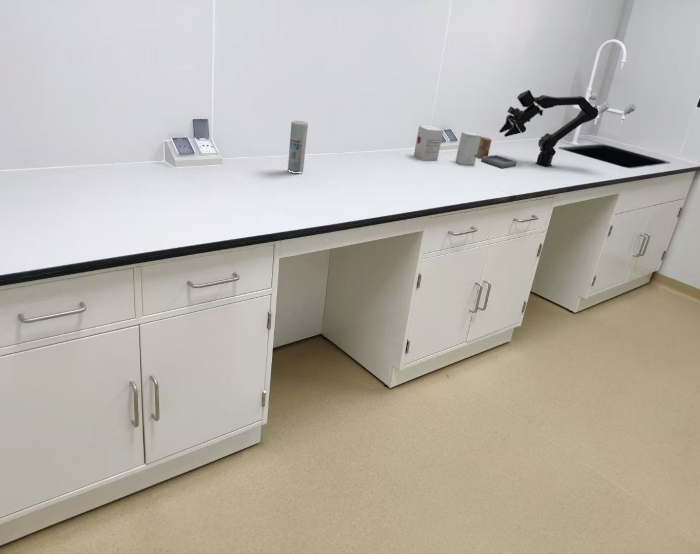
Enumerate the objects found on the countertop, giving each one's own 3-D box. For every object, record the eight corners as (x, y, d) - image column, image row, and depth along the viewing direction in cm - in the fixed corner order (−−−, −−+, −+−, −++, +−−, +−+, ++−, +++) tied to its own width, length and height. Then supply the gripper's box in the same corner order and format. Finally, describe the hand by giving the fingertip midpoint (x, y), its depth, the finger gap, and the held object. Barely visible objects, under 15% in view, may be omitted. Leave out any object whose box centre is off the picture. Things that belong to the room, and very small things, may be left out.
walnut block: (484, 156, 308) (489, 137, 303) (487, 159, 303) (491, 140, 299) (475, 155, 307) (479, 136, 303) (477, 158, 303) (482, 138, 298)
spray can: (284, 171, 235) (288, 121, 227) (293, 168, 241) (297, 119, 232) (297, 175, 233) (302, 125, 224) (306, 172, 238) (311, 123, 230)
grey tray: (515, 166, 296) (516, 161, 295) (501, 168, 288) (502, 163, 287) (495, 159, 304) (496, 154, 303) (481, 161, 296) (482, 156, 295)
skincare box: (460, 164, 284) (466, 134, 278) (454, 161, 289) (461, 131, 283) (475, 165, 287) (482, 135, 281) (469, 162, 292) (476, 132, 286)
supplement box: (413, 155, 289) (418, 125, 283) (428, 155, 293) (434, 125, 287) (422, 160, 282) (428, 129, 276) (437, 160, 286) (443, 130, 280)
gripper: (514, 98, 302) (488, 118, 306) (525, 105, 285) (498, 125, 289) (525, 115, 306) (500, 134, 310) (537, 122, 289) (510, 142, 293)
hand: (502, 134), depth 300 cm, fingers open, 9 cm apart
